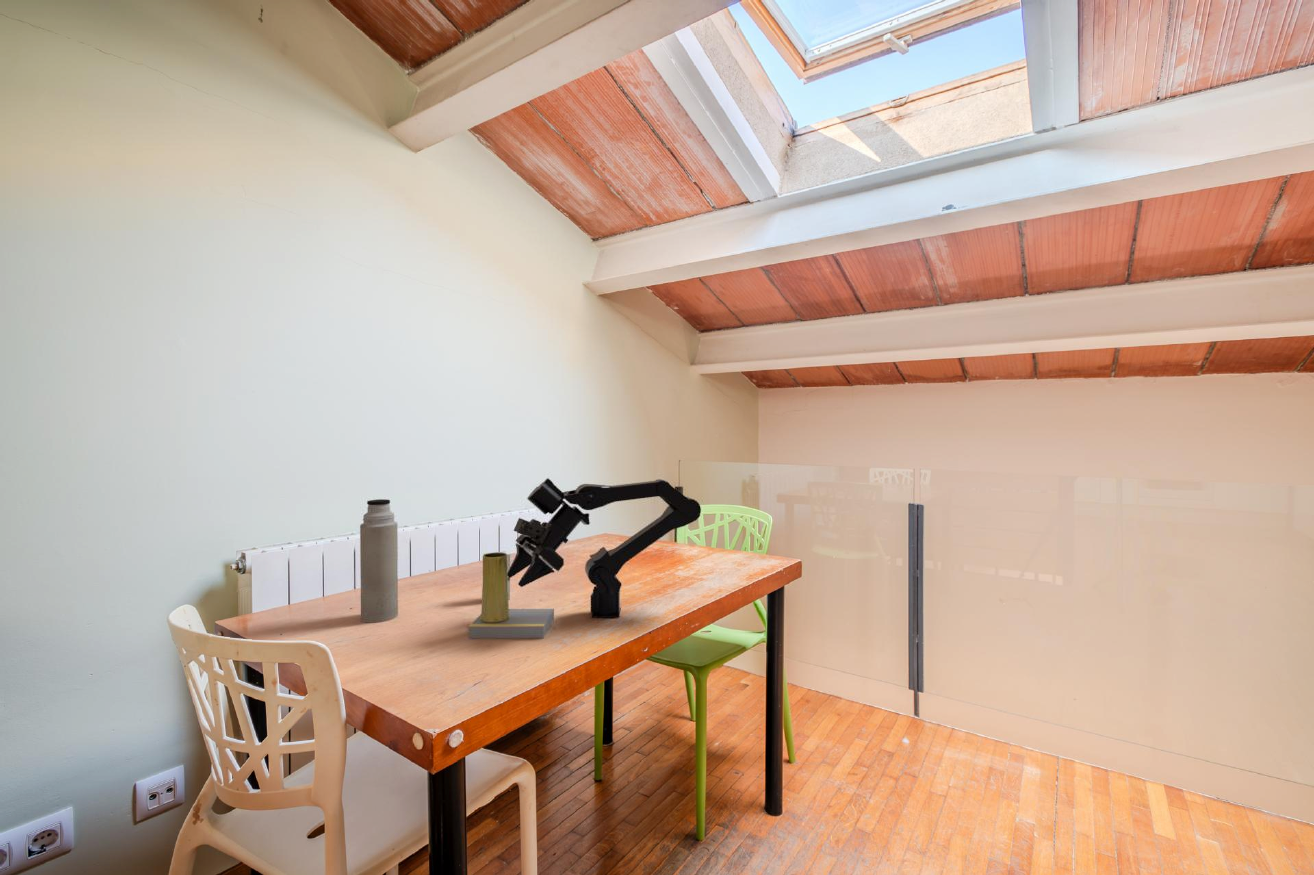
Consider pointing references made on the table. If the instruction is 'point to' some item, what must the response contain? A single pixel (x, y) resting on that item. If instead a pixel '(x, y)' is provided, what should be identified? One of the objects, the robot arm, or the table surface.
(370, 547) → the thermos bottle
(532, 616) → the gray and yellow box
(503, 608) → the vase
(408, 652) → the table surface
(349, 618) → the table surface
